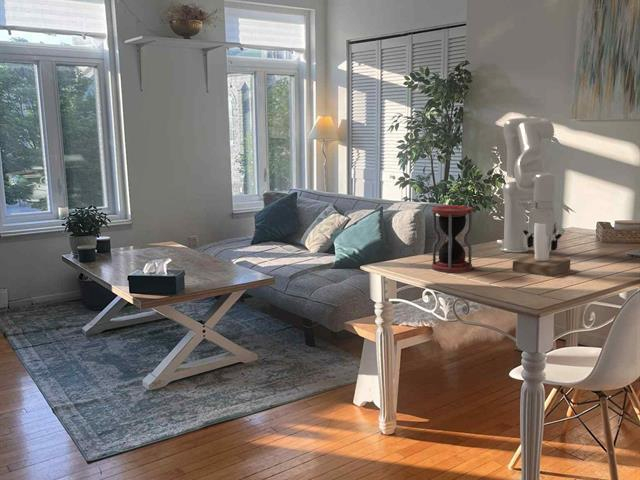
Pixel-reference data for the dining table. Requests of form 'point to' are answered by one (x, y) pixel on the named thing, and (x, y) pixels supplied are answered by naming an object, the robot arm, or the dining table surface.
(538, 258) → the white tapered cylinder
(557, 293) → the dining table surface
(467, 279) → the dining table surface
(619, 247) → the dining table surface
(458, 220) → the hourglass
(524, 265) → the walnut block
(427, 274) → the dining table surface
